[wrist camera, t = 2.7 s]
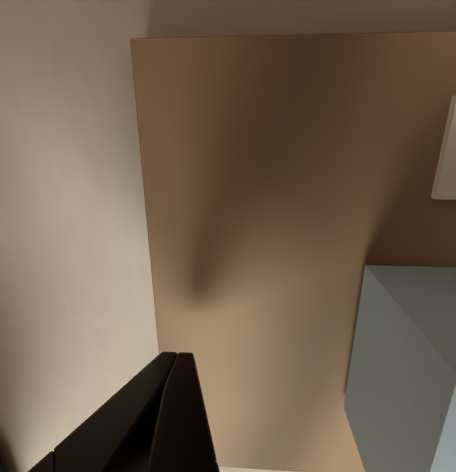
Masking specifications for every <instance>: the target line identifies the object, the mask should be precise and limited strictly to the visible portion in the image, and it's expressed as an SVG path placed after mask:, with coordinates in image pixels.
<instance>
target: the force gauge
mask: <svg viewBox="0 0 456 472" xmlns="http://www.w3.org/2000/svg"><path fill="white" fill-rule="evenodd" d="M344 410H345V413H346V416H347V419H348V422H349V425H350V428H351V431H352V434H353V437H354V440H355V443H356V446H357V449H358V452H359V455H360V458H361V461H362V464H363V467H364V470H365V472H456V267H419V266H376V265H365V270H364V276H363V283H362V289H361V296H360V303H359V309H358V316H357V322H356V329H355V335H354V342H353V349H352V355H351V362H350V368H349V375H348V382H347V388H346V395H345V401H344Z"/></svg>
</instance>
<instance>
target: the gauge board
mask: <svg viewBox="0 0 456 472" xmlns="http://www.w3.org/2000/svg"><path fill="white" fill-rule="evenodd" d="M130 43H131V54H132V65H133V76H134V87H135V98H136V108H137V119H138V130H139V141H140V152H141V163H142V174H143V185H144V195H145V206H146V217H147V228H148V239H149V250H150V261H151V272H152V282H153V293H154V304H155V315H156V326H157V337H158V348H159V354H160V353H161V352H164V351H168V352H177V353H179V352H191V353H193V354H194V358H195V362H196V367H197V372H198V376H199V381H200V385H201V390H202V394H203V399H204V404H205V408H206V413H207V417H208V422H209V427H210V431H211V436H212V440H213V445H214V449H215V454H216V459H217V463H218V466H220V467H236V468H251V469H267V470H282V471H298V472H365V470H364V467H363V464H362V461H361V458H360V455H359V452H358V449H357V446H356V443H355V440H354V437H353V434H352V431H351V428H350V425H349V422H348V419H347V416H346V413H345V410H344V401H345V395H346V388H347V382H348V375H349V368H350V362H351V355H352V349H353V342H354V335H355V329H356V322H357V316H358V309H359V303H360V296H361V289H362V283H363V276H364V270H365V265H376V266H419V267H456V31H443V32H399V33H354V34H310V35H265V36H221V37H177V38H132V39H130Z"/></svg>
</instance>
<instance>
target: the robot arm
mask: <svg viewBox="0 0 456 472" xmlns="http://www.w3.org/2000/svg"><path fill="white" fill-rule="evenodd" d="M0 472H5V471H4V468H3V465H2V462H1V459H0ZM28 472H219V467H218V463H217V459H216V454H215V449H214V445H213V440H212V436H211V431H210V427H209V422H208V417H207V413H206V408H205V404H204V399H203V394H202V390H201V385H200V381H199V376H198V372H197V367H196V362H195V358H194V354H193V353H191V352H179V353H177V352H168V351H164V352H161V353H160V354H159V355H158V356H157V357H156V358H155V359H153V360H152V361H151V362H150V363H149V364H148V365H147V366H146V367H145V368H143V369H142V370H141V371H140V372H139V373H138V374H137V375H136V376H134V377H133V378H132V379H131V380H130V381H129V382H128V383H127V384H126V385H124V386H123V387H122V388H121V389H120V390H119V391H118V392H117V393H115V394H114V395H113V396H112V397H111V398H110V399H109V400H108V401H107V402H105V403H104V404H103V405H102V406H101V407H100V408H99V409H98V410H96V411H95V412H94V413H93V414H92V415H91V416H90V417H89V418H88V419H86V420H85V421H84V422H83V423H82V424H81V425H80V426H79V427H78V428H76V429H75V430H74V431H73V432H72V433H71V434H70V435H69V436H67V437H66V438H65V439H64V440H63V441H62V442H61V443H60V444H59V445H57V446H56V447H55V448H54V452H53V451H51V452H49V453H48V454H47V455H46V456H45V457H44V458H43V459H42V460H40V461H39V462H38V463H37V464H36V465H35V466H34V467H33V468H31V469H30V470H29V471H28Z"/></svg>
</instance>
